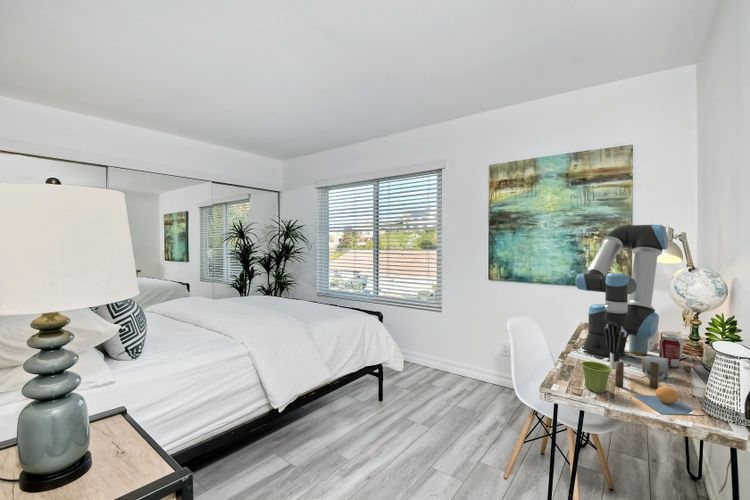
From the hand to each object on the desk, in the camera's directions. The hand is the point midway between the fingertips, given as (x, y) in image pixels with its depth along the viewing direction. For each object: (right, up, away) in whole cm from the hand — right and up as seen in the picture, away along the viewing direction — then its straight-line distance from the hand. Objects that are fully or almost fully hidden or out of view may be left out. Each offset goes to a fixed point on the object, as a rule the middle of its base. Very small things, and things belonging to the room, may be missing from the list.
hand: (614, 368), depth 140 cm
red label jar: (+42, -2, +21) cm, 47 cm away
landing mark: (-2, -3, -27) cm, 27 cm away
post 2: (+5, -2, -13) cm, 15 cm away
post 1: (-7, -2, -13) cm, 15 cm away
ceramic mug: (+15, -3, -3) cm, 15 cm away
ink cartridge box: (+40, -2, +33) cm, 52 cm away
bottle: (+29, -2, +26) cm, 39 cm away
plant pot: (-18, -3, -15) cm, 23 cm away
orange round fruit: (0, 0, -26) cm, 26 cm away
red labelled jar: (+31, -2, +9) cm, 32 cm away
